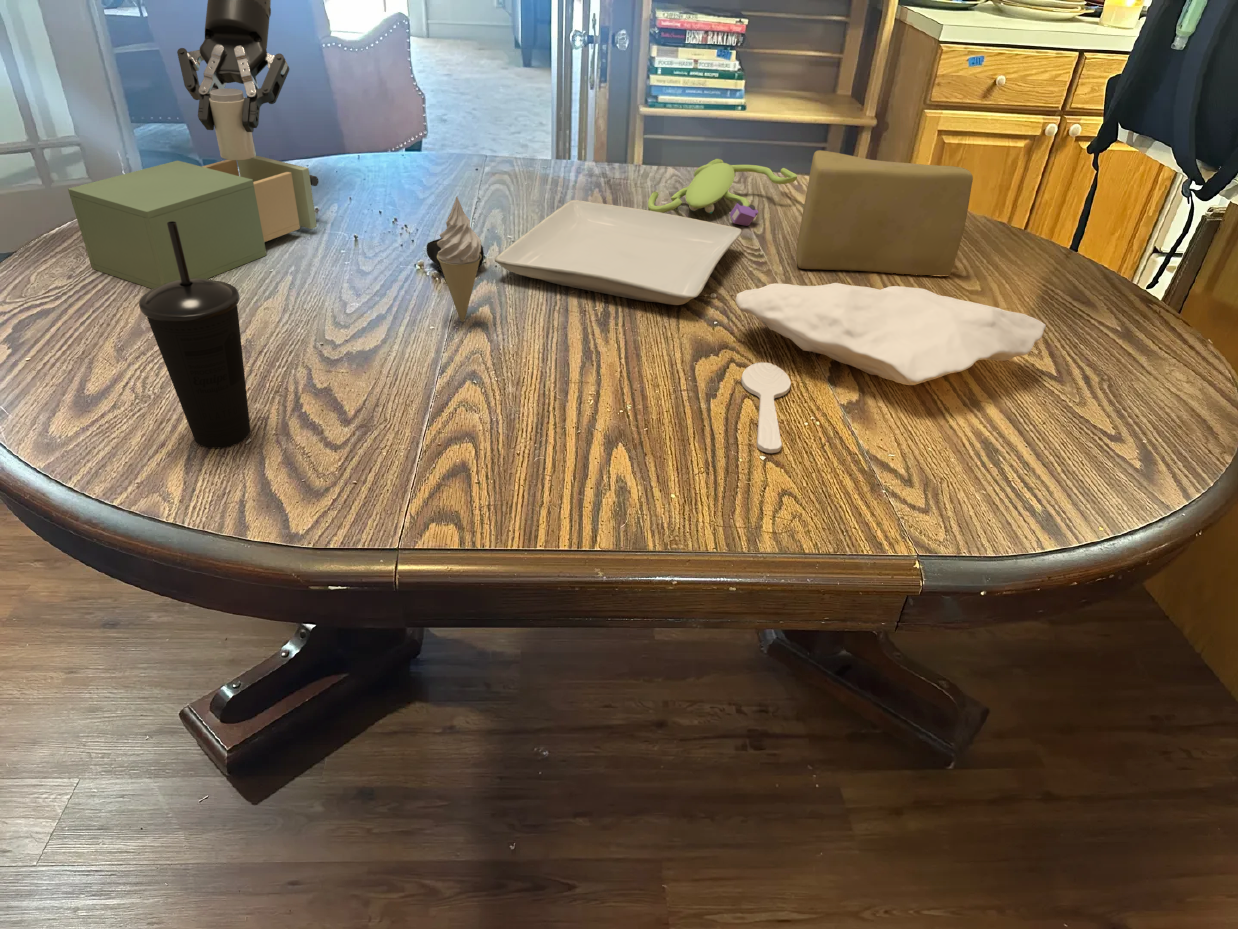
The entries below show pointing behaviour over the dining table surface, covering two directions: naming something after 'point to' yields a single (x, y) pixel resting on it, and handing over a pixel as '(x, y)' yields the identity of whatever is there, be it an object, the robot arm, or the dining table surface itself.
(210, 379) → the drinking cup
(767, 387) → the spoon
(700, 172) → the figurine
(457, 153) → the dining table surface
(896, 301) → the white rock slab
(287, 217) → the drawer
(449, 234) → the ice cream cone
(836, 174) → the brown rectangular block
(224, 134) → the salt shaker
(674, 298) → the square plate
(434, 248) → the tape measure
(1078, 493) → the dining table surface
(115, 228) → the cabinet
